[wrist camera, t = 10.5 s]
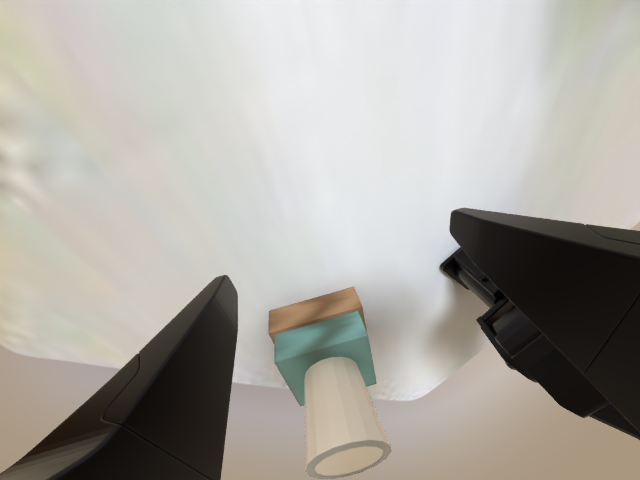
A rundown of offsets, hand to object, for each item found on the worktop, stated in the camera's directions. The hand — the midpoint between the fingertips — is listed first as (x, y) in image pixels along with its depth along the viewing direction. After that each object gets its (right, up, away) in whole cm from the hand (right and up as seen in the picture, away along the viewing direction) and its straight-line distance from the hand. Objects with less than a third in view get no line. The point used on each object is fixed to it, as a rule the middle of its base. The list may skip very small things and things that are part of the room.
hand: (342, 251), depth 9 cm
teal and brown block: (-1, -10, +20) cm, 23 cm away
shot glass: (0, -13, +15) cm, 20 cm away
